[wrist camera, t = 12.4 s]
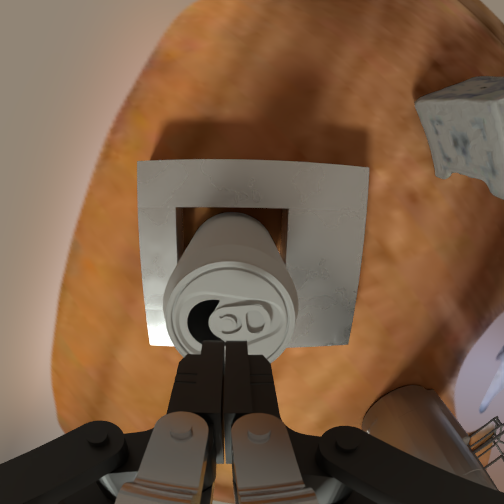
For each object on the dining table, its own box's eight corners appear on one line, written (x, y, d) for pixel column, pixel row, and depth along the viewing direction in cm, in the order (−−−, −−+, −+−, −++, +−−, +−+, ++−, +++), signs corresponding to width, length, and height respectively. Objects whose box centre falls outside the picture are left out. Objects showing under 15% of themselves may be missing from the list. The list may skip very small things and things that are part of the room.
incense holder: (438, 189, 24) (521, 207, 14) (404, 102, 22) (483, 80, 12) (498, 153, 23) (572, 160, 13) (470, 77, 21) (543, 60, 11)
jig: (354, 167, 23) (369, 167, 20) (337, 327, 27) (348, 344, 24) (149, 161, 22) (137, 161, 19) (158, 326, 26) (150, 344, 23)
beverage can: (186, 216, 24) (140, 263, 12) (269, 205, 24) (299, 243, 12) (199, 292, 25) (174, 386, 14) (277, 283, 25) (306, 373, 14)
